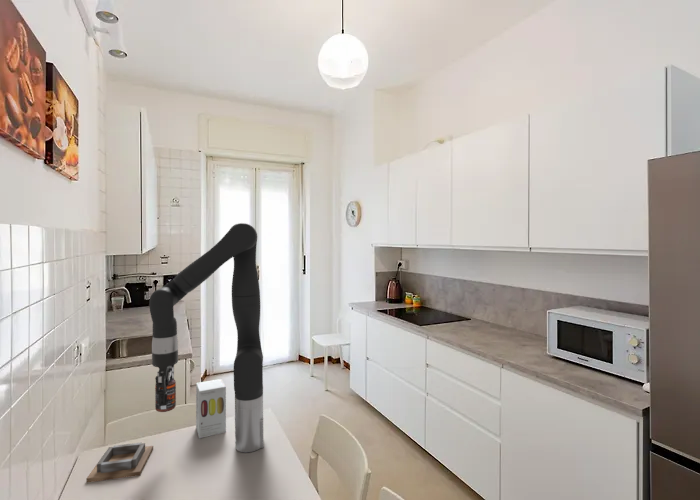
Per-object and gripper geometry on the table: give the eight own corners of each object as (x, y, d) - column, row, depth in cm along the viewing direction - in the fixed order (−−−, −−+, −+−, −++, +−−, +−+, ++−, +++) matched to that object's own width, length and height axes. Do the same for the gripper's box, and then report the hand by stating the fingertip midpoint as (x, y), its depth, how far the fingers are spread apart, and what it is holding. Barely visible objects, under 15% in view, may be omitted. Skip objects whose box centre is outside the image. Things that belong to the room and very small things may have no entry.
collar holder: (153, 449, 124) (153, 438, 123) (140, 475, 110) (140, 463, 110) (105, 455, 120) (105, 443, 120) (86, 482, 107) (86, 470, 106)
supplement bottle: (167, 413, 117) (167, 378, 116) (151, 412, 118) (150, 376, 117) (180, 405, 122) (179, 371, 122) (164, 403, 124) (163, 370, 123)
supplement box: (198, 439, 130) (197, 391, 129) (195, 427, 138) (194, 382, 138) (226, 432, 135) (226, 386, 134) (222, 421, 143) (221, 377, 142)
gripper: (172, 355, 113) (173, 409, 114) (182, 342, 127) (182, 390, 128) (145, 357, 112) (146, 412, 112) (158, 343, 126) (158, 393, 126)
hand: (165, 400), depth 120 cm, fingers closed on supplement bottle, 6 cm apart
